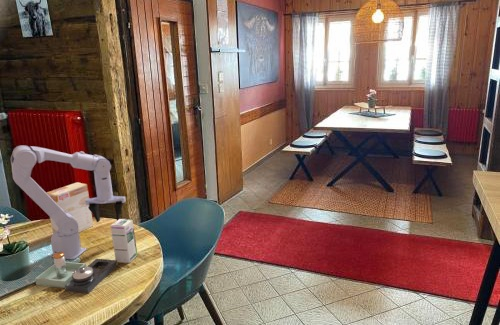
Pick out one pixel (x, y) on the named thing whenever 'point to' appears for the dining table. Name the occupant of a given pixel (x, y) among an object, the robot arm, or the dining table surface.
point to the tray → (51, 278)
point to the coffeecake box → (73, 204)
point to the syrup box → (124, 240)
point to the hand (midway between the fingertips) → (108, 220)
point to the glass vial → (60, 265)
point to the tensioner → (90, 276)
